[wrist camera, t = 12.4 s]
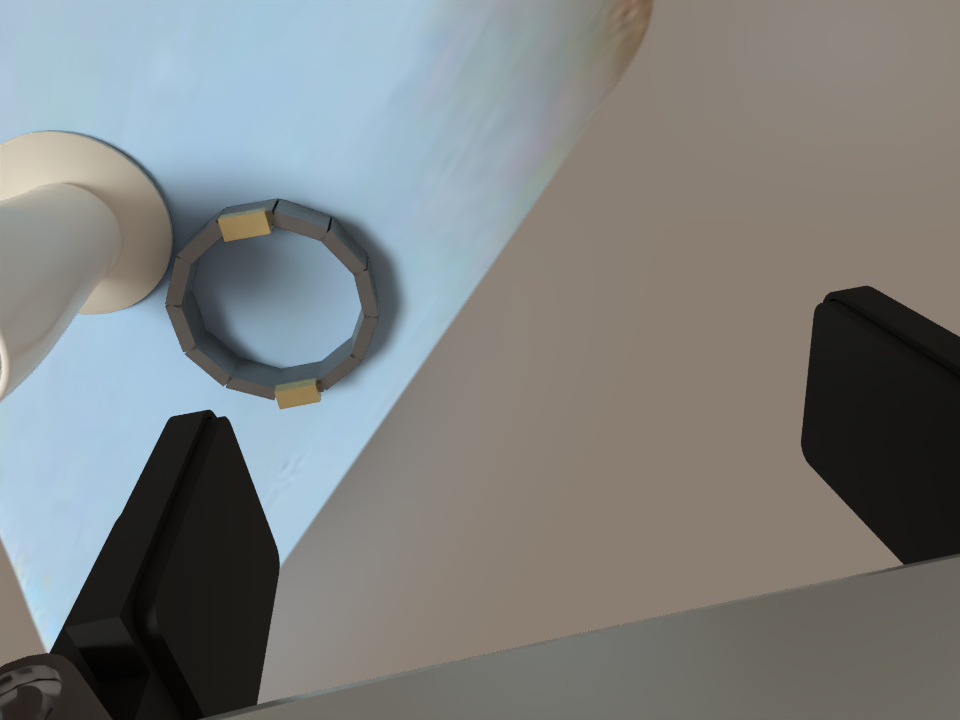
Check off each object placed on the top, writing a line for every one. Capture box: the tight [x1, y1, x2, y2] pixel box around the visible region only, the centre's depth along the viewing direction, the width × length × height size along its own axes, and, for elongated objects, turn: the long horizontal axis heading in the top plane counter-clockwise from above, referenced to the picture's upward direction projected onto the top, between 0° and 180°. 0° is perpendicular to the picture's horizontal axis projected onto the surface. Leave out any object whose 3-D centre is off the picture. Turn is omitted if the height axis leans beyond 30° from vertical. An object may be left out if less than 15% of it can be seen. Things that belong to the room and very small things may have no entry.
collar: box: [165, 199, 378, 409], centre depth 39 cm, size 12×11×3 cm
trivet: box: [0, 130, 173, 314], centre depth 37 cm, size 10×10×1 cm
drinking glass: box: [0, 183, 123, 402], centre depth 30 cm, size 7×7×15 cm
